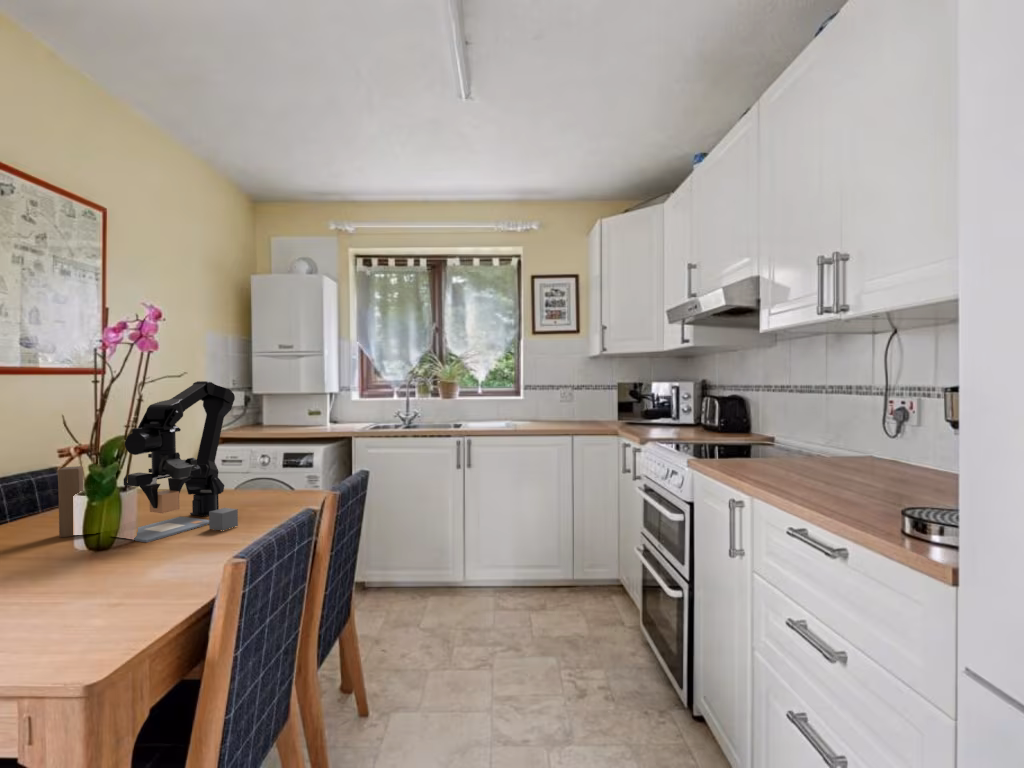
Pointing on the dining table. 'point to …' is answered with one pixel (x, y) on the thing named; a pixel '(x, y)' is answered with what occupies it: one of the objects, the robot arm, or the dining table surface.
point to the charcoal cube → (223, 519)
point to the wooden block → (68, 497)
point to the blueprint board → (168, 528)
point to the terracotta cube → (166, 502)
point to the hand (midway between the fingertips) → (164, 506)
